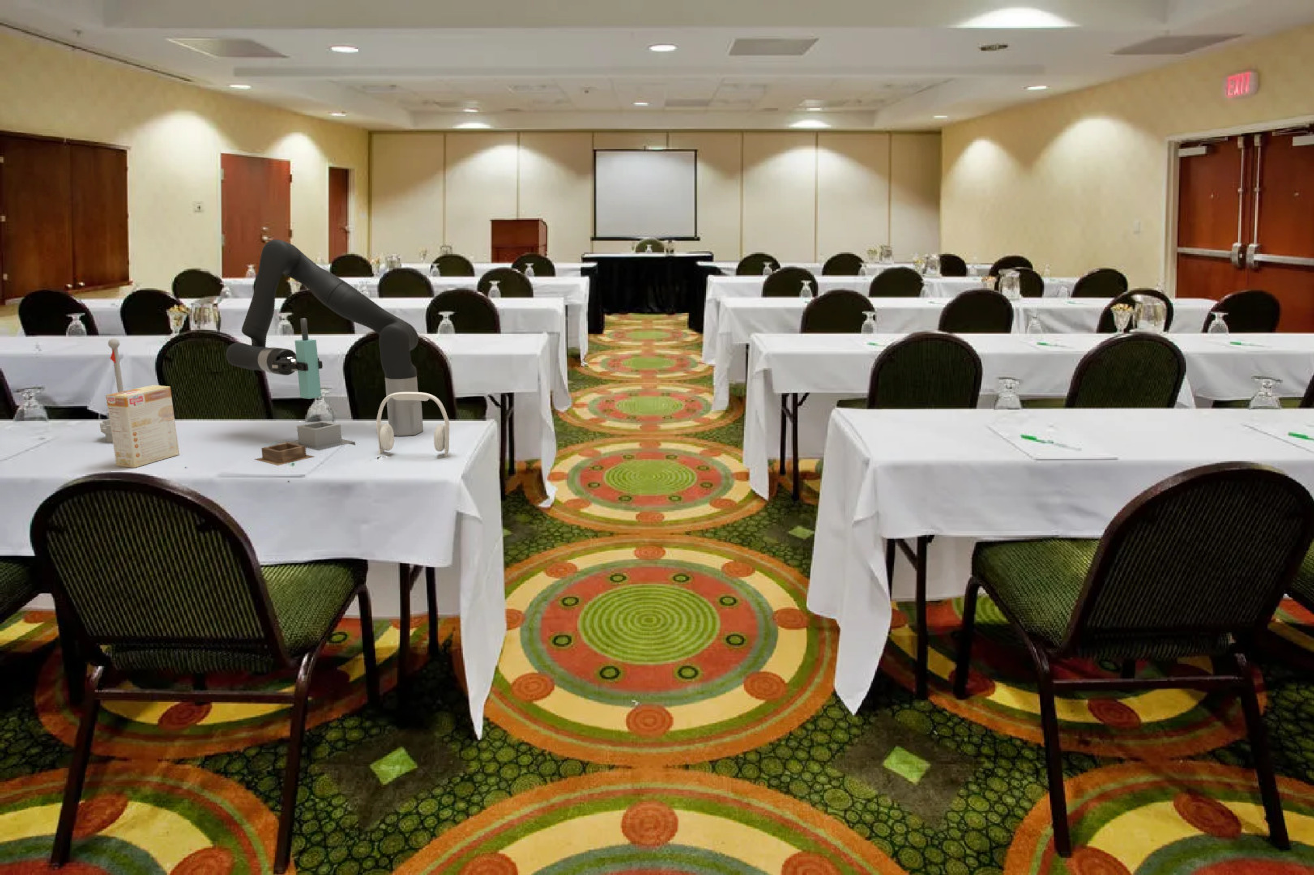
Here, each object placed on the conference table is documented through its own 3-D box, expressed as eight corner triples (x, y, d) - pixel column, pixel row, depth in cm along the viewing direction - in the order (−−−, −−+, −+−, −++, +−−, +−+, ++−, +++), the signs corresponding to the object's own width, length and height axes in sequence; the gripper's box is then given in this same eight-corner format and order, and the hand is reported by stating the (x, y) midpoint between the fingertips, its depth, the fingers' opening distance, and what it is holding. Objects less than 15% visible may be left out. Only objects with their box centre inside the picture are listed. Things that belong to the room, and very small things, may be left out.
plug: (312, 395, 271) (305, 317, 266) (321, 396, 269) (314, 318, 264) (300, 397, 268) (292, 318, 263) (308, 398, 266) (301, 319, 261)
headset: (454, 452, 266) (450, 389, 262) (446, 459, 259) (442, 394, 255) (383, 452, 267) (378, 389, 263) (374, 458, 260) (369, 394, 256)
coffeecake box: (161, 452, 269) (152, 384, 264) (180, 454, 266) (171, 385, 262) (114, 466, 255) (104, 394, 251) (134, 468, 253) (124, 395, 248)
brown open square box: (291, 454, 266) (289, 440, 265) (314, 460, 259) (313, 445, 258) (254, 462, 257) (253, 448, 256) (278, 469, 251) (276, 454, 250)
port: (321, 437, 285) (320, 418, 283) (355, 445, 275) (353, 424, 274) (285, 445, 275) (283, 425, 274) (319, 453, 266) (317, 432, 264)
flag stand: (109, 434, 291) (95, 336, 284) (156, 432, 294) (143, 334, 287) (96, 444, 279) (80, 342, 272) (145, 441, 282) (131, 340, 275)
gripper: (253, 351, 268) (290, 355, 259) (298, 345, 280) (334, 349, 270) (256, 377, 270) (292, 383, 260) (300, 370, 281) (337, 375, 272)
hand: (314, 366), depth 265 cm, fingers closed on plug, 4 cm apart
